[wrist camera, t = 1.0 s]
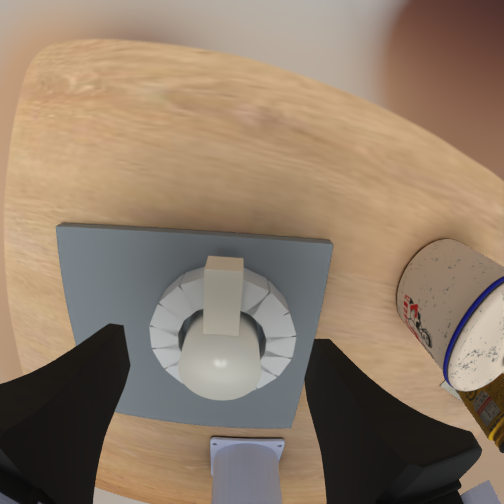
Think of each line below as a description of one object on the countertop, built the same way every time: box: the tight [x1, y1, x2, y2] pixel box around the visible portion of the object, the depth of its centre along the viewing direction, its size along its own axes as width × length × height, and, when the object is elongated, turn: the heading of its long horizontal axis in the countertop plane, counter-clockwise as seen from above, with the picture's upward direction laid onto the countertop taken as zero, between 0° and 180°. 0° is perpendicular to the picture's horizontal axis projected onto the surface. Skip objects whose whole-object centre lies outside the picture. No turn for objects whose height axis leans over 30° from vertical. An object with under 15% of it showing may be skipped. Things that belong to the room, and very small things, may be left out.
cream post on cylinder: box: [178, 256, 261, 401], centre depth 19 cm, size 9×5×5 cm, turn 175°
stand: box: [56, 223, 333, 428], centre depth 22 cm, size 19×20×3 cm
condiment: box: [440, 373, 504, 453], centre depth 21 cm, size 7×8×12 cm
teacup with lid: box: [397, 239, 504, 391], centre depth 17 cm, size 12×9×12 cm
